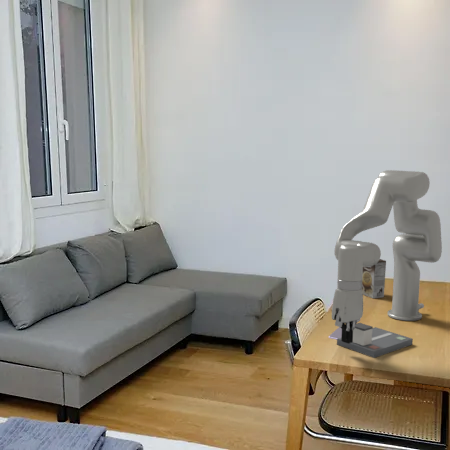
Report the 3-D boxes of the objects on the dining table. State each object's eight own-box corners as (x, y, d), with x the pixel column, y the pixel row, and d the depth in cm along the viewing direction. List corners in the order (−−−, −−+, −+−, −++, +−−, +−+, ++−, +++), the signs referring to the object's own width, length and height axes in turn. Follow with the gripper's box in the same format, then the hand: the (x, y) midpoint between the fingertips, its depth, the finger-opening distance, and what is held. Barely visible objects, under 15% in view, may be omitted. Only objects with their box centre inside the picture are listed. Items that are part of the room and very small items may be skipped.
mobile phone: (361, 327, 210) (349, 339, 197) (361, 330, 211) (349, 342, 198) (341, 324, 214) (327, 336, 201) (341, 326, 214) (327, 338, 201)
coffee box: (359, 293, 259) (360, 257, 257) (371, 292, 262) (372, 256, 260) (372, 298, 251) (374, 261, 249) (384, 297, 254) (386, 260, 252)
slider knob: (359, 338, 194) (359, 322, 193) (371, 343, 190) (372, 326, 189) (350, 341, 191) (351, 325, 190) (363, 346, 187) (364, 329, 186)
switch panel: (375, 332, 207) (375, 326, 207) (412, 344, 195) (412, 338, 195) (336, 344, 195) (337, 338, 194) (374, 357, 183) (374, 351, 183)
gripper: (355, 279, 191) (353, 334, 193) (323, 285, 181) (321, 343, 184) (374, 283, 185) (371, 340, 187) (342, 290, 176) (340, 350, 178)
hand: (346, 341), depth 186 cm, fingers closed
